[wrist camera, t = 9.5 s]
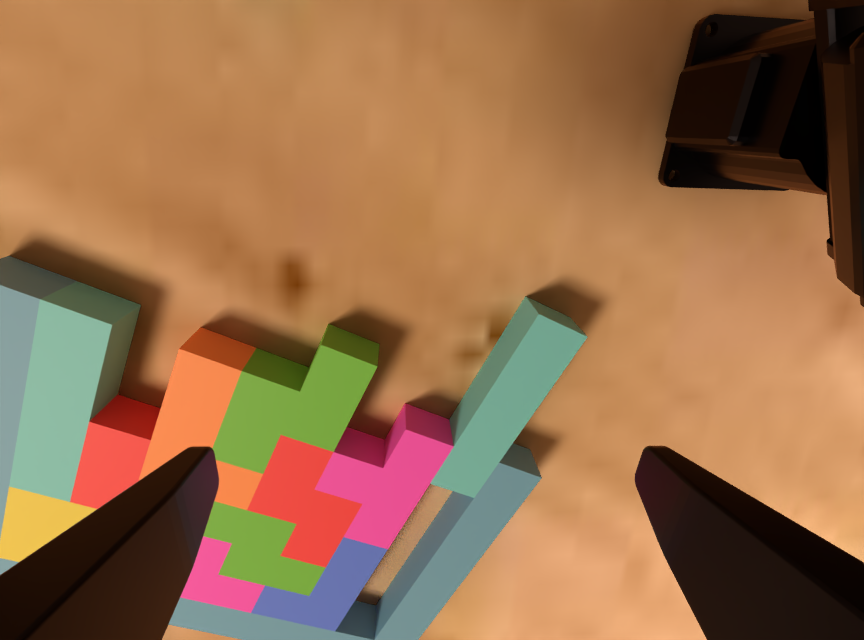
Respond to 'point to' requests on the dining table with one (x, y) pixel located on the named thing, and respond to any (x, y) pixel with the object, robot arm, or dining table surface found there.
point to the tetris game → (266, 459)
